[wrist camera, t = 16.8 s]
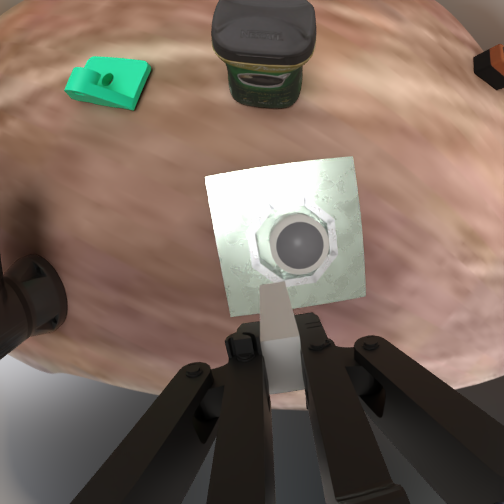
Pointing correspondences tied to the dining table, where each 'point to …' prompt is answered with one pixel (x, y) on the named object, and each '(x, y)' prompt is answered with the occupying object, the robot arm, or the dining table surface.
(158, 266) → the dining table surface
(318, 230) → the white short cylinder
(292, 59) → the coffee jar
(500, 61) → the battery
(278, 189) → the grey-green flat square piece
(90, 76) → the camera mount
